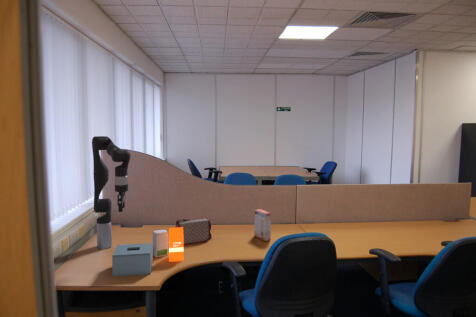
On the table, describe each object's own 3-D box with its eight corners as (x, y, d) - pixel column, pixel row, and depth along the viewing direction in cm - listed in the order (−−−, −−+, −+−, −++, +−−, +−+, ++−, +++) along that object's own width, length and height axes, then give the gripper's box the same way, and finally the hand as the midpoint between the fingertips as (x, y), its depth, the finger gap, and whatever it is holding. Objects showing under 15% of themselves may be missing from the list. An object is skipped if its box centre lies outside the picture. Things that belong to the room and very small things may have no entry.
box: (117, 264, 185) (117, 244, 184) (152, 262, 189) (152, 243, 188) (112, 276, 170) (112, 255, 169) (150, 274, 174) (150, 253, 173)
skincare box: (155, 258, 196) (155, 233, 194) (152, 254, 201) (151, 231, 200) (168, 255, 201) (168, 231, 199) (164, 251, 206) (164, 228, 205)
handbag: (209, 236, 239) (209, 213, 237) (215, 240, 229) (215, 217, 228) (173, 241, 225) (173, 218, 223) (178, 246, 216) (178, 222, 214)
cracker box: (270, 240, 231) (271, 212, 229) (264, 241, 228) (264, 213, 226) (260, 234, 243) (261, 208, 242) (253, 235, 240) (254, 209, 239)
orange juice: (168, 256, 198) (168, 226, 196) (182, 255, 200) (182, 225, 198) (169, 261, 190) (168, 229, 188) (183, 260, 192) (183, 229, 190)
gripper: (116, 181, 192) (117, 206, 194) (112, 185, 178) (112, 213, 180) (129, 181, 194) (129, 206, 196) (126, 185, 180) (126, 212, 182)
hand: (121, 209), depth 188 cm, fingers open, 8 cm apart
